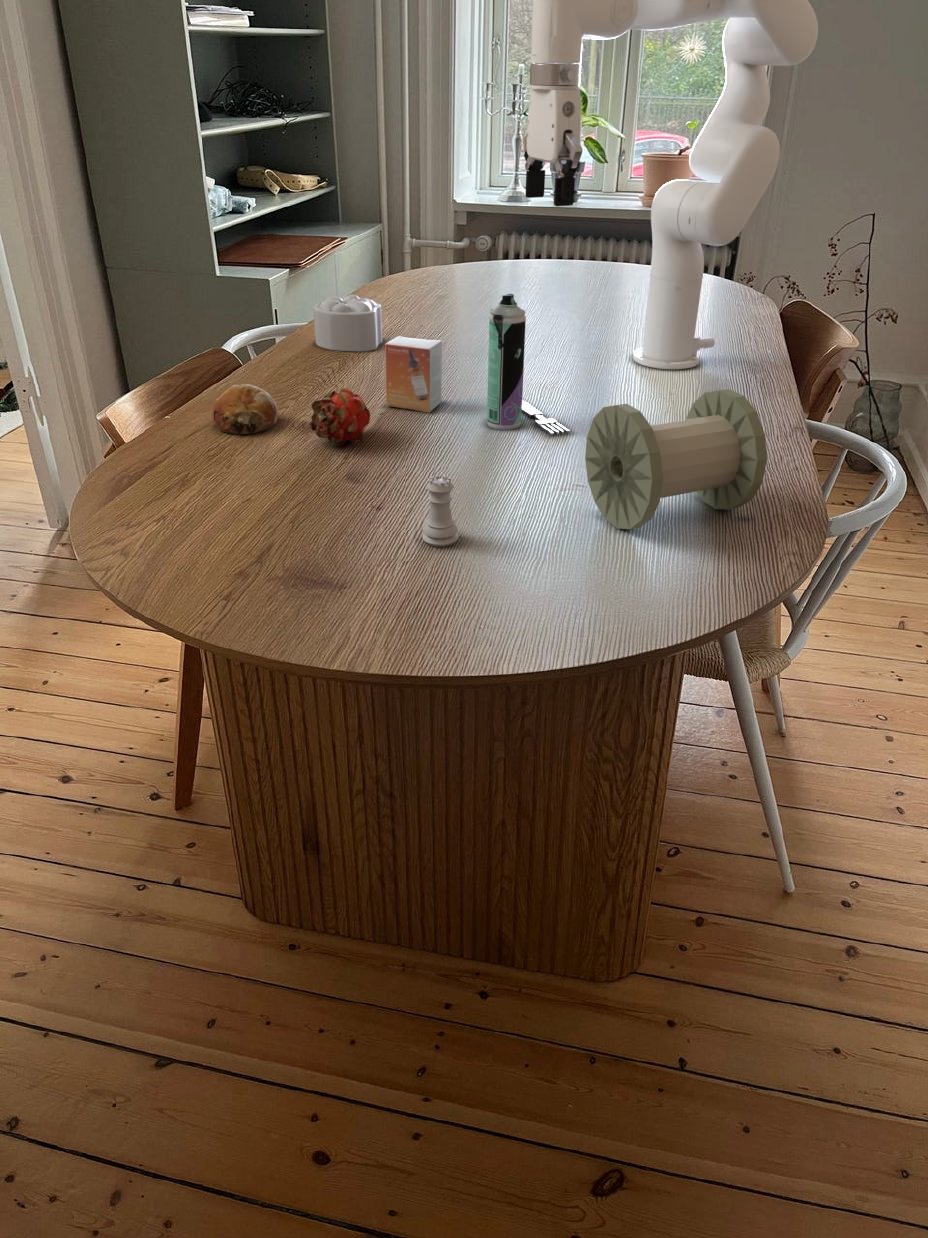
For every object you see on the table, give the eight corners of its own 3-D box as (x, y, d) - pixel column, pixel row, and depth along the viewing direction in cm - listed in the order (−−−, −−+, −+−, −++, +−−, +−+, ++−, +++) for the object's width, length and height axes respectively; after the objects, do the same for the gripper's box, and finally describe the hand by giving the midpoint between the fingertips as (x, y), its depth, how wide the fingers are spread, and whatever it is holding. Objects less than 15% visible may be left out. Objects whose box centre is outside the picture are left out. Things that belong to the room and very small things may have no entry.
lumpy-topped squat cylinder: (372, 352, 183) (370, 306, 179) (308, 348, 185) (305, 303, 181) (385, 338, 192) (383, 294, 188) (324, 334, 194) (321, 291, 189)
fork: (503, 402, 159) (503, 398, 158) (520, 400, 160) (520, 396, 159) (551, 436, 145) (551, 431, 145) (569, 433, 146) (569, 428, 146)
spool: (643, 548, 113) (658, 429, 105) (581, 500, 125) (590, 390, 117) (754, 525, 119) (776, 411, 111) (685, 482, 130) (700, 375, 123)
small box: (385, 407, 156) (383, 343, 151) (399, 396, 161) (397, 334, 155) (430, 413, 154) (429, 348, 148) (442, 402, 158) (442, 339, 153)
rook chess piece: (421, 532, 116) (420, 472, 112) (457, 531, 117) (457, 471, 112) (422, 548, 112) (421, 487, 108) (460, 547, 113) (460, 486, 109)
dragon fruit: (325, 466, 138) (348, 448, 149) (370, 435, 135) (390, 419, 146) (290, 416, 136) (316, 402, 147) (335, 384, 133) (358, 372, 144)
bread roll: (286, 442, 151) (292, 392, 150) (254, 436, 142) (260, 382, 141) (232, 435, 154) (238, 385, 153) (197, 428, 144) (203, 375, 143)
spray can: (518, 431, 147) (523, 299, 136) (484, 428, 148) (486, 297, 137) (523, 419, 152) (529, 291, 141) (490, 416, 152) (493, 289, 142)
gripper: (606, 79, 136) (596, 207, 145) (549, 75, 149) (544, 193, 158) (560, 80, 133) (553, 210, 142) (507, 76, 147) (504, 195, 156)
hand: (548, 201), depth 150 cm, fingers open, 9 cm apart
